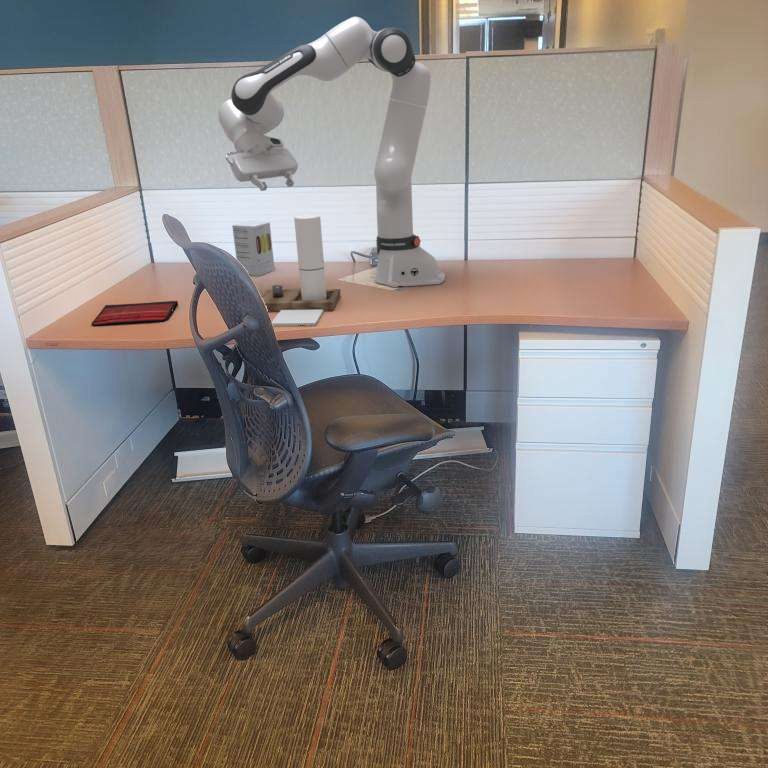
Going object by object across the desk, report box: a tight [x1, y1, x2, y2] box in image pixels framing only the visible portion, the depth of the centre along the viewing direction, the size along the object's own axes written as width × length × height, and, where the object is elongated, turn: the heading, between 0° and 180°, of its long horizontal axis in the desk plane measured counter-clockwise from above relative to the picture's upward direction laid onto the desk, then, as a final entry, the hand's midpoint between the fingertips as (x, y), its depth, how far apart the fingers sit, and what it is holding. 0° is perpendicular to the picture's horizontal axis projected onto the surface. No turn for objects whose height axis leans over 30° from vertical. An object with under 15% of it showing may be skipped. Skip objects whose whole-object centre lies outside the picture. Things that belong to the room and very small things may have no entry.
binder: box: [91, 300, 179, 327], centre depth 192 cm, size 16×2×21 cm
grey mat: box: [271, 309, 325, 327], centre depth 182 cm, size 12×12×1 cm
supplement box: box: [231, 220, 276, 277], centre depth 231 cm, size 10×9×17 cm
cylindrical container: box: [293, 213, 328, 301], centre depth 190 cm, size 7×7×25 cm
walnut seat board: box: [261, 284, 341, 313], centre depth 195 cm, size 22×14×6 cm, turn 85°
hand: (278, 187), depth 191 cm, fingers open, 8 cm apart
